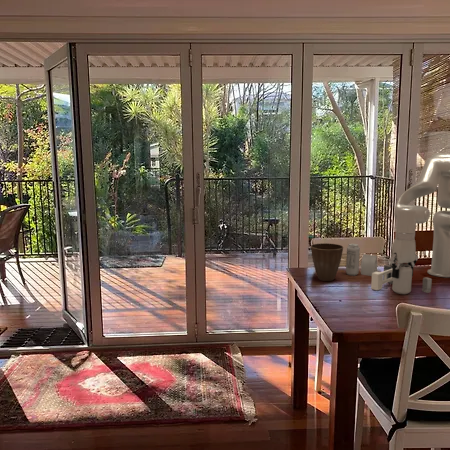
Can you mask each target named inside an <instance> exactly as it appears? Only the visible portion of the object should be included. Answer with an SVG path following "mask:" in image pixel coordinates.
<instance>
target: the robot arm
mask: <svg viewBox="0 0 450 450" xmlns="http://www.w3.org/2000/svg"><path fill="white" fill-rule="evenodd" d="M436 191H437V205H438V206H439V207H440V208H441V209H442V208H443V209H450V152H440V153H439V152H438V153H434V154H432V155H431V156H430V157H428V158H427V159H426V160H425V162H424V164H423V166H422V169H421V171H420V174H419V176H418V179H417V181H416V182H415V184H414V185H412V186H411V187H409V188H408V189H406V190H405V191H404V192H403V193H402V194H401V195H400V196H399V198H398V199H397V202H396V204H395V207H394V209H393V216H394V219H395V220H396V226H395V238H394V239H393V242H392V246H391V253H390V258H389V259H388V260H387V262H388V263H389V264H388V265H390V266H391V268H392V277H393V278H397V279H398V278H399V269H398V268H399V266H400V264H407V265H410V266H411V269H412V277H413V276H414V267H415V265H416V263H417V261H418V259H419V256H418V255H417V252H416V251H417V249H416V247H417V245H416V240H415V237H416V225H417V224H420V225H421V224H425V223H426V222H427V221H429V219H430V217H431V211H430V209H429V208H428V207H425V206H423V205H413V204H410V203H411V202H412V201H414V200H416V199H419V198H423V197H425V196H428V195H431V194H433V193H435V192H436ZM432 227H433V241H432V253H431V255H432V256H431V265H430V266H431V268H430V269H427V274H429V275H431V276H433V277H439V278H450V210H439V211H436V212H435V213H434V214H433V217H432ZM396 264H397V265H396Z"/></svg>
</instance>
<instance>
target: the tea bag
mask: <svg viewBox="0 0 450 450" xmlns="http://www.w3.org/2000/svg"><path fill="white" fill-rule="evenodd" d="M374 272H378V256H377V255H374V254H373V255H372V254H366V253H363V254H362V259H361V263H360V275H363V276H368V277H372V273H374Z"/></svg>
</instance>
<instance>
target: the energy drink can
mask: <svg viewBox="0 0 450 450" xmlns="http://www.w3.org/2000/svg"><path fill="white" fill-rule="evenodd" d="M360 252H361V251H360V246H359V244H358V243H349V244H348V245H347V247H346V260H345V261H346V262H345V264H346V265H345V273H346V275H347V276H357V275H358V274H359V273H360V272H359V271H360Z"/></svg>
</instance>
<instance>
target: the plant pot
mask: <svg viewBox="0 0 450 450" xmlns="http://www.w3.org/2000/svg"><path fill="white" fill-rule="evenodd" d="M310 250H311V251H310V252H311V257H312V263H313V267H314V270H315V273H316V276H317V279H318V280H319V281H324V282H331V281H334V280H335V278H336V276H337V274H338V271H339V268H340V264H341V260H342V256H343V250H344V246H343V245H341V244H337V243H328V242H327V243H326V242H324V243H314V244H311V245H310Z"/></svg>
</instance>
